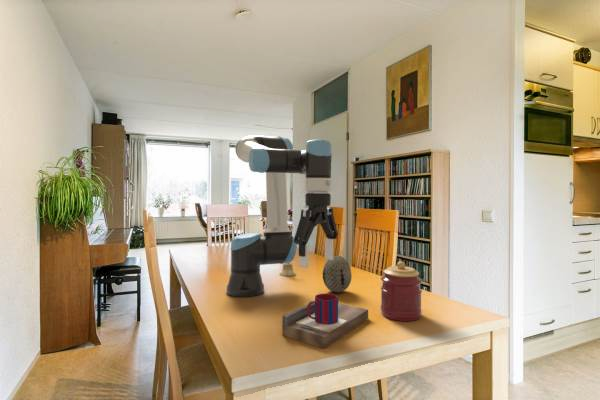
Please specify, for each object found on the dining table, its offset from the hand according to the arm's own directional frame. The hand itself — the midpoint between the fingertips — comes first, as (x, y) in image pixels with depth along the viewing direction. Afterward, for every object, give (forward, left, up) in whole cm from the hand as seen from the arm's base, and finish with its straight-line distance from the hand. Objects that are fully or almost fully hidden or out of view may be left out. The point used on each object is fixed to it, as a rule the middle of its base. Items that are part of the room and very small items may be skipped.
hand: (316, 263), depth 102 cm
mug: (+4, -3, -16) cm, 17 cm away
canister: (+17, +25, -19) cm, 35 cm away
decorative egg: (-13, +35, -19) cm, 42 cm away
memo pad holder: (+3, +2, -19) cm, 19 cm away
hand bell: (-48, +47, -19) cm, 70 cm away
